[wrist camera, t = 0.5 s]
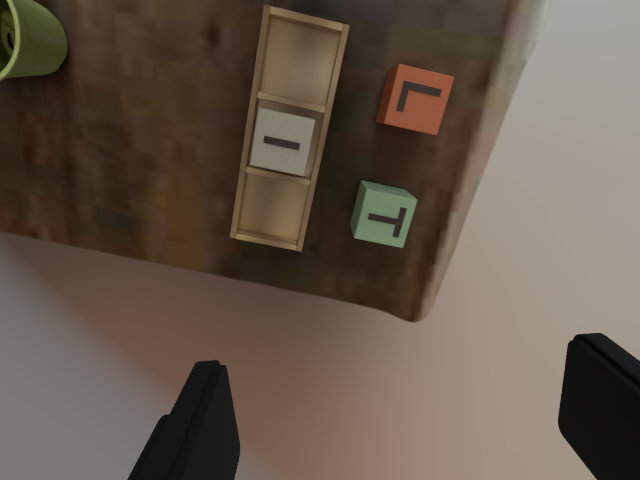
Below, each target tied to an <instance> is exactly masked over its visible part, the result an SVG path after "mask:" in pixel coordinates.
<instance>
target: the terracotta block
mask: <svg viewBox="0 0 640 480" xmlns="http://www.w3.org/2000/svg"><path fill="white" fill-rule="evenodd" d="M453 80H454V77H452V76H448V75H444V74H440V73H435V72H431V71H427V70H423V69H419V68H415V67H411V66H406V65H402V64H398V65H396V66H395V67H393V68H391V69H389V70H388V73H387V77H386V81H385V85H384V89H383V93H382V97H381V101H380V105H379V109H378V113H377V117H376V122H377V123H381V124H385V125H390V126H394V127H399V128H403V129H407V130H412V131H416V132H421V133H425V134H430V135H435V136H436V135H437V133H438V130H439V127H440V123H441V120H442V117H443V113H444V110H445V107H446V104H447V100H448V97H449V94H450V90H451V87H452V84H453Z"/></svg>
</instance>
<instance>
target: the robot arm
mask: <svg viewBox="0 0 640 480" xmlns="http://www.w3.org/2000/svg"><path fill="white" fill-rule="evenodd" d="M558 425H559V429H560V432H561V434H562V435H563V437H564V438H565V439H566V440H567V442H568V443H569V444H570V446H571V447H572V448H573V450H574V451H575V452H576V453H577V454H578V456H579V457H580V458H581V460H582V461H583V462H584V464H585V465H586V466H587V467H588V469H589V470H590V471H591V473H592V474H593V475H594V476H595V478H596V479H597V480H640V361H639V360H637V359H636V358H635V357H633V356H632V355H631V354H630V353H628V352H627V351H625V350H624V349H623V348H621V347H620V346H619V345H617V344H616V343H615V342H613V341H612V340H610V339H609V338H608V337H607V336H605V335H604V334H601V333H590V334H578V335H576V336H575V337H574V339H573V340H572V341H570V342H569V343H568V348H567V355H566V363H565V371H564V379H563V387H562V394H561V402H560V409H559V417H558ZM239 456H240V441H239V435H238V430H237V424H236V419H235V412H234V407H233V401H232V395H231V389H230V384H229V379H228V372H227V368H226V366H225V365H220V363H219V361H217V360H214V361H200V362H196V363H195V365H194V367H193V369H192V371H191V373H190V375H189V377H188V379H187V381H186V383H185V385H184V387H183V389H182V391H181V393H180V395H179V397H178V399H177V401H176V403H175V405H174V407H173V409H172V411H171V413H170V414H168V415H164V416H162V417H161V418H160V420H159V421H158V423H157V425H156V427H155V429H154V430H153V432H152V434H151V436H150V438H149V440H148V442H147V444H146V445H145V447H144V450H143V451H142V453H141V455H140V457H139V459H138V461H137V462H136V465H135V466H134V468H133V470H132V472H131V474H130V476H129V478H128V480H234V478H235V474H236V469H237V465H238V461H239Z"/></svg>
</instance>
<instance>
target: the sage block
mask: <svg viewBox="0 0 640 480" xmlns="http://www.w3.org/2000/svg"><path fill="white" fill-rule="evenodd" d="M416 203H417V199H416V198H414V197H413V196H412V195H411V194H410V193H409V192H408V191H406V190H405V189H400V188H395V187H391V186H386V185H381V184H377V183H372V182H367V181H363V180H361V181H360V185H359V189H358V193H357V197H356V201H355V206H354V210H353V214H352V218H351V222H350V226H351V229H352V232H353V235H354V238H356V239H360V240H365V241H370V242H375V243H380V244H385V245H390V246H395V247H400V248H403V246H404V243H405V240H406V236H407V233H408V230H409V226H410V223H411V220H412V216H413V213H414V210H415V206H416Z"/></svg>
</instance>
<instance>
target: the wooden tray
mask: <svg viewBox="0 0 640 480" xmlns="http://www.w3.org/2000/svg"><path fill="white" fill-rule="evenodd" d="M349 27H350V26H349V25H346V24H342V23H338V22H334V21H330V20H326V19H322V18H317V17H313V16H309V15H305V14H301V13H297V12H293V11H289V10H285V9H281V8H277V7H273V6H269V5H264V8H263V15H262V22H261V28H260V35H259V42H258V49H257V55H256V62H255V69H254V76H253V82H252V89H251V96H250V103H249V109H248V116H247V123H246V130H245V136H244V143H243V150H242V157H241V163H240V170H239V177H238V184H237V190H236V197H235V204H234V211H233V217H232V224H231V231H230V238H234V239H239V240H244V241H249V242H255V243H260V244H265V245H270V246H275V247H280V248H285V249H290V250H295V251H300V252H301V251H302V247H303V242H304V238H305V233H306V228H307V224H308V219H309V214H310V210H311V205H312V200H313V196H314V191H315V186H316V181H317V177H318V172H319V167H320V163H321V158H322V153H323V149H324V144H325V139H326V135H327V130H328V125H329V121H330V116H331V111H332V106H333V102H334V97H335V92H336V88H337V83H338V78H339V74H340V69H341V64H342V60H343V55H344V50H345V45H346V41H347V36H348V31H349ZM258 108H267V109H272V110H276V111H281V112H285V113H290V114H294V115H298V116H303V117H307V118H312V119H315V124H314V129H313V134H312V139H311V144H310V149H309V154H308V159H307V163H306V168H305V173H304V176H300V175H296V174H291V173H286V172H281V171H277V170H272V169H267V168H263V167H258V166H253V165H250V160H251V153H252V147H253V140H254V134H255V128H256V121H257V115H258Z"/></svg>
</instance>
